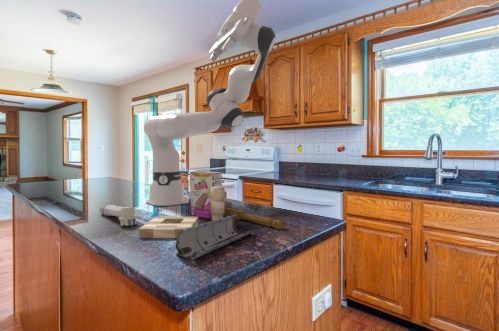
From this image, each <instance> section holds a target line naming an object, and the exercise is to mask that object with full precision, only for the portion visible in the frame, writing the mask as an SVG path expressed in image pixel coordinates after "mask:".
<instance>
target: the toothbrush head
mask: <svg viewBox="0 0 499 331" xmlns="http://www.w3.org/2000/svg"><path fill="white" fill-rule="evenodd" d="M134 209H135V208H134V207H133V206H125V207H124V206H120V205H114V204H112V203H106V204H103V205H102V206H100V208H99V210H100V211H99V212H100V214H101V215H104V216H105V217H109V216H112V217H113V216H114V217H118V221H119V222H120V227H124V226H125V227H128V226H129V227H130V226H134V225H136V224H137V218H138V215H136V214H135V210H134Z"/></svg>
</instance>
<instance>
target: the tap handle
mask: <svg viewBox="0 0 499 331" xmlns="http://www.w3.org/2000/svg"><path fill="white" fill-rule="evenodd" d="M235 214H239V215H238V216H237V217H236V218H235V220H243V221H249V222H252V223H255V224H258V225H261V226H265V227H267V228H268V227H269V228H274V229H277V230H283V229H284V224H285V223H284V221H283V220H279V219H275V218H272V217H267V216H261V215H255V214H252V213H251V214H250V213H248V212H245V210H244V209H240V208H235V207H231V206H230V207H225V213H224V214H223V217H227V216H231V215H235Z"/></svg>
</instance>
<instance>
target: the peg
mask: <svg viewBox="0 0 499 331" xmlns="http://www.w3.org/2000/svg"><path fill="white" fill-rule="evenodd" d="M225 202H226V201H225V187H224V186H222V187H220V186H217V187H211V214H212V220H211V221H214V220H217V219H222V218H224V215H223V214H224V213H225V208H226V207H225V205H226V204H225Z"/></svg>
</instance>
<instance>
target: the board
mask: <svg viewBox="0 0 499 331" xmlns="http://www.w3.org/2000/svg"><path fill="white" fill-rule="evenodd" d="M196 225H199V217H194V216H154V217H153V218H152V219H150V220H149V221H148V222H147V223H145V224H144V225H142V226H141V227H140V228H138V238H139V239H176V237H177V235H178V234H179V232H180V231H181V230H182V229H185V228H188V227H194V226H196Z"/></svg>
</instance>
